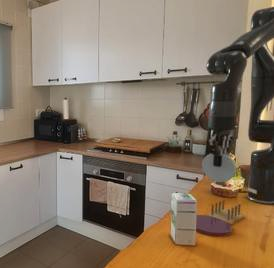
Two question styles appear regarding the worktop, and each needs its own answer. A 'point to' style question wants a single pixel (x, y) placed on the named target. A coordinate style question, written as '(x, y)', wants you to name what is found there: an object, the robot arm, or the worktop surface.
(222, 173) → the plate
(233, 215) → the dish rack
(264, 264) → the worktop surface
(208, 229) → the plum plate
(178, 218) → the syrup box
